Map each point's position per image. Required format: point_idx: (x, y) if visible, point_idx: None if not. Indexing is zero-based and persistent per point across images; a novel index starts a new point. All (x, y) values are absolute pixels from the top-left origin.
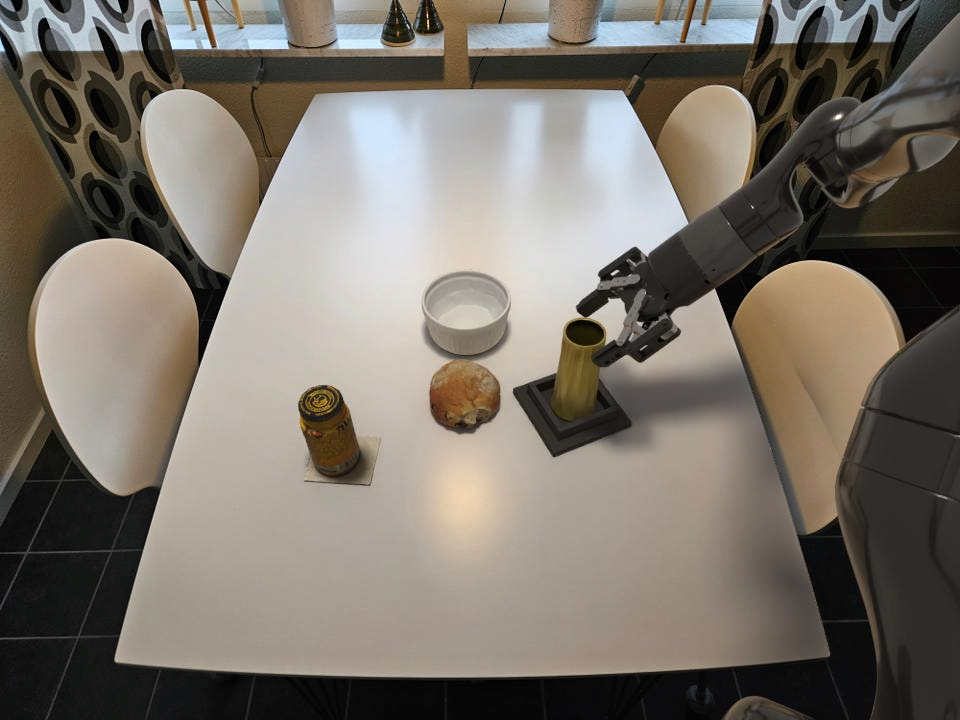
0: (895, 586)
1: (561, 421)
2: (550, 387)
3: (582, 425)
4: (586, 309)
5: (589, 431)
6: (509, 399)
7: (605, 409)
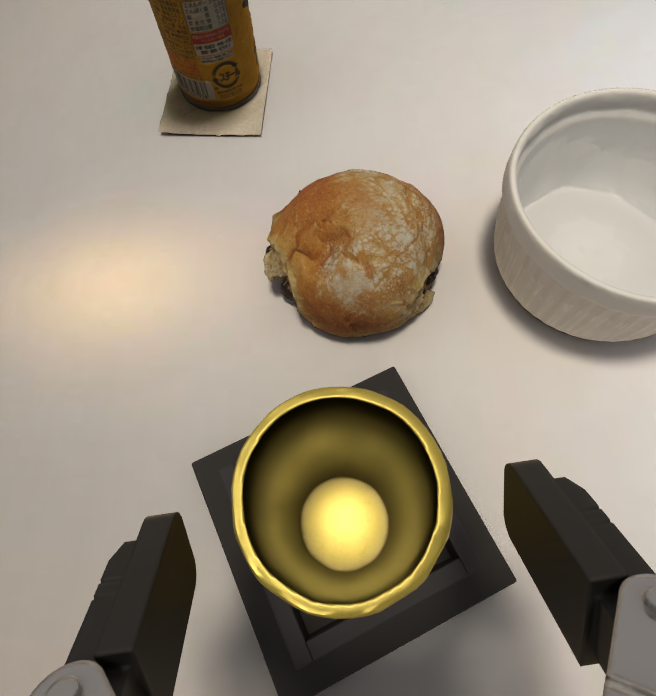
0: None
1: None
2: None
3: None
4: (523, 517)
5: None
6: (370, 364)
7: (294, 618)
